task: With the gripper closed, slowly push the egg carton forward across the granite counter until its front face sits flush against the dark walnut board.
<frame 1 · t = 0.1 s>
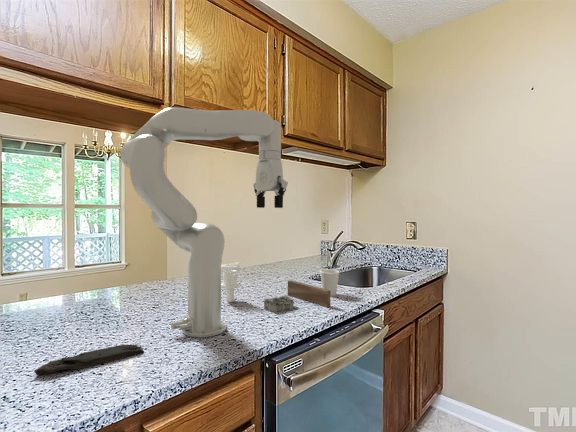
hand: (269, 207, 112), 37 cm above the worktop, tool pointing down, fingers open, 9 cm apart
walnut board: (307, 300, 129), on the worktop
dixie cup: (329, 294, 139), on the worktop
wood: (93, 362, 77), on the worktop
egg carton: (278, 309, 119), on the worktop
white plastic bottle: (230, 301, 128), on the worktop
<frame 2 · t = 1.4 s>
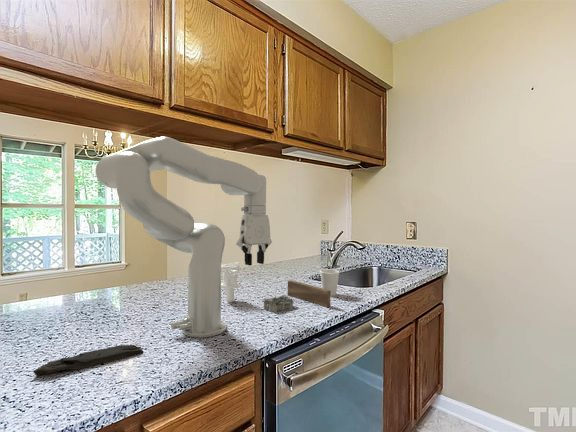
hand: (254, 263, 112), 17 cm above the worktop, tool pointing down, fingers open, 4 cm apart
nothing on the worktop moved.
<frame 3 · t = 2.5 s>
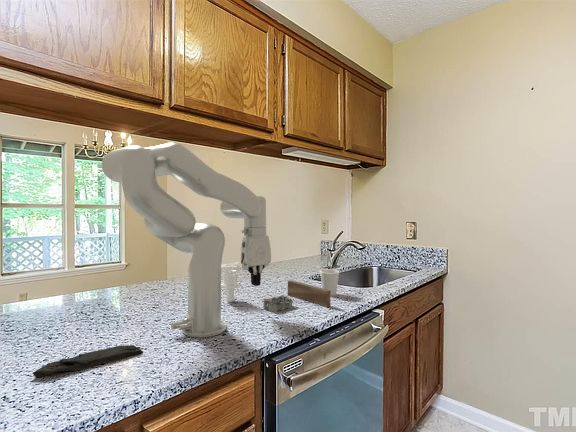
hand: (255, 284, 113), 10 cm above the worktop, tool pointing down, fingers closed
nothing on the worktop moved.
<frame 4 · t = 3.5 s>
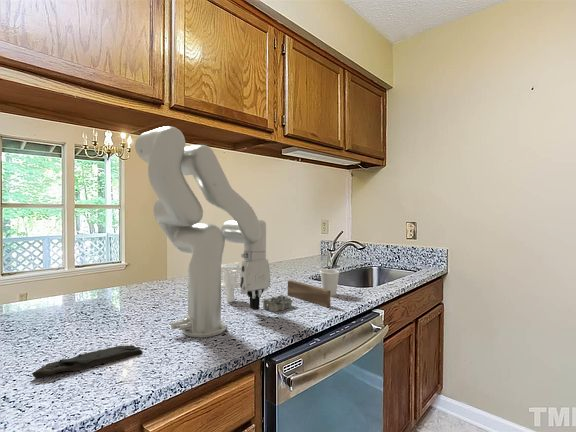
hand: (254, 308, 112), 2 cm above the worktop, tool pointing down, fingers closed
nothing on the worktop moved.
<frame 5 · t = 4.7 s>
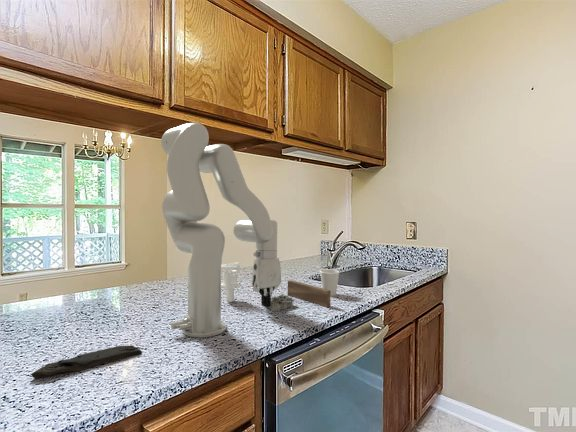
hand: (266, 306, 116), 2 cm above the worktop, tool pointing down, fingers closed
egg carton: (278, 308, 121), on the worktop, touching gripper
everything else where it was.
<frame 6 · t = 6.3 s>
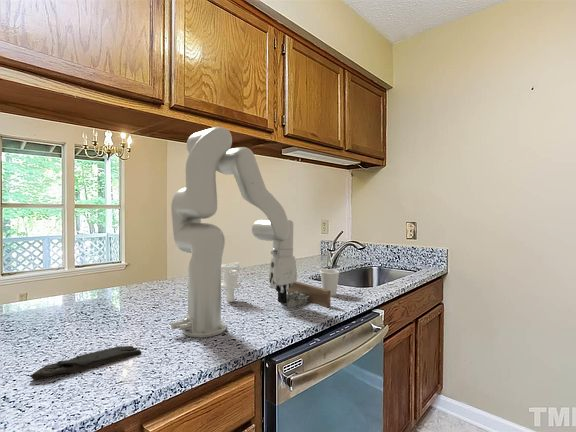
hand: (282, 302, 121), 2 cm above the worktop, tool pointing down, fingers closed
egg carton: (293, 304, 126), on the worktop
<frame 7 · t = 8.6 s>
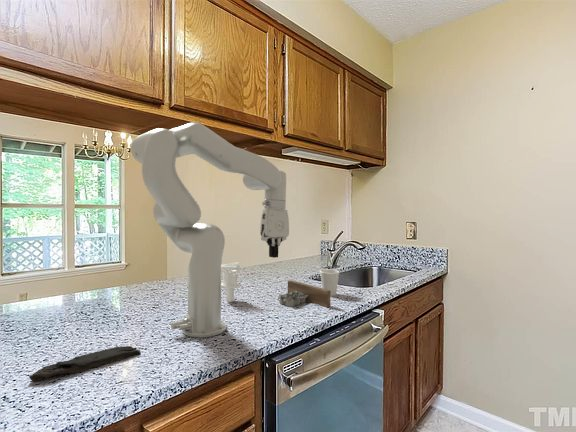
hand: (273, 256, 116), 19 cm above the worktop, tool pointing down, fingers closed
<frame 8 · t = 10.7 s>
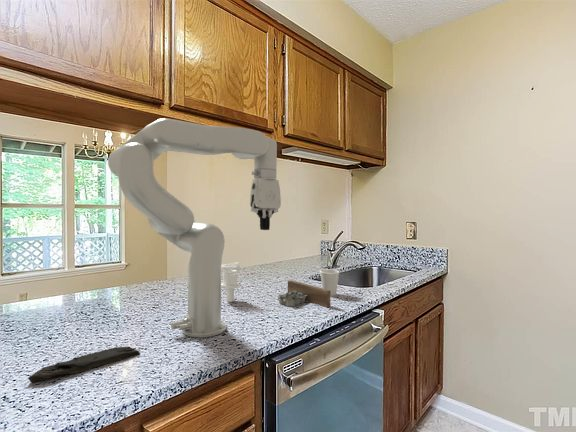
hand: (264, 229, 111), 29 cm above the worktop, tool pointing down, fingers closed
at the end: egg carton inside the target area on the worktop beside the walnut board (2.3 cm from its centre), on the worktop; egg carton tilted 0° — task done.
